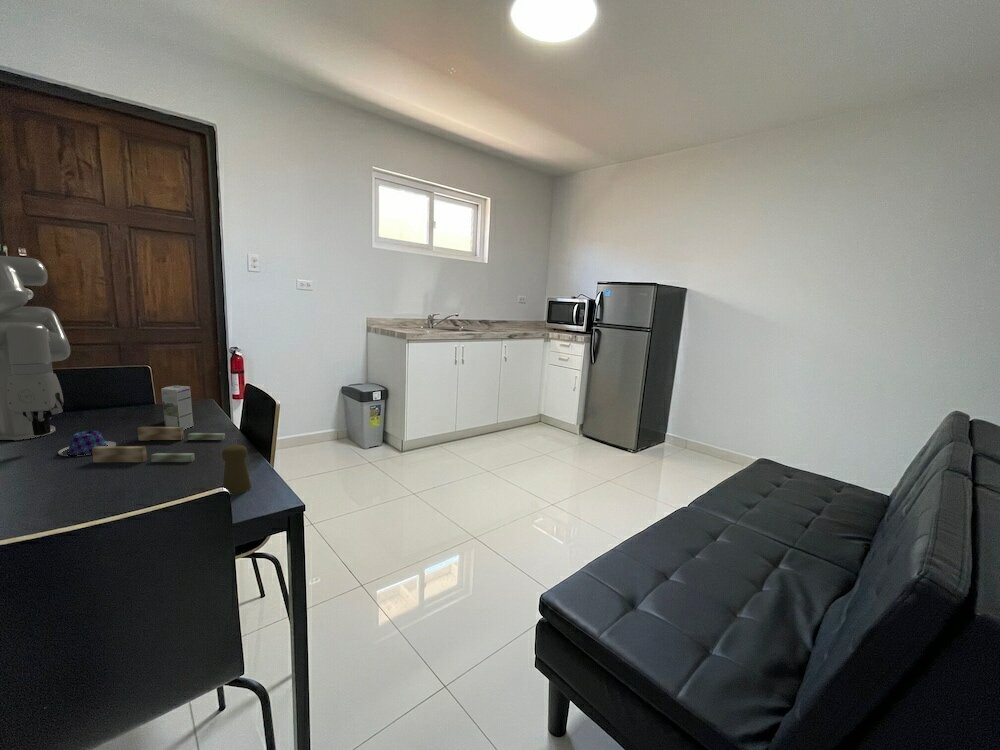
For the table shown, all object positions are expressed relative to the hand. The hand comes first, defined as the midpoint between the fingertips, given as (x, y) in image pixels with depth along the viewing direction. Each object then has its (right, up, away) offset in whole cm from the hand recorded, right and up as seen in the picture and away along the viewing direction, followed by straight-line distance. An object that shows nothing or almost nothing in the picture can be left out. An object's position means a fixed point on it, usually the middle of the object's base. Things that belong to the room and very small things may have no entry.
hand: (42, 433), depth 117 cm
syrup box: (+19, -2, +25) cm, 32 cm away
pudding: (+10, -6, +3) cm, 12 cm away
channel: (+29, -6, +6) cm, 31 cm away
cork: (+64, -12, -15) cm, 67 cm away
